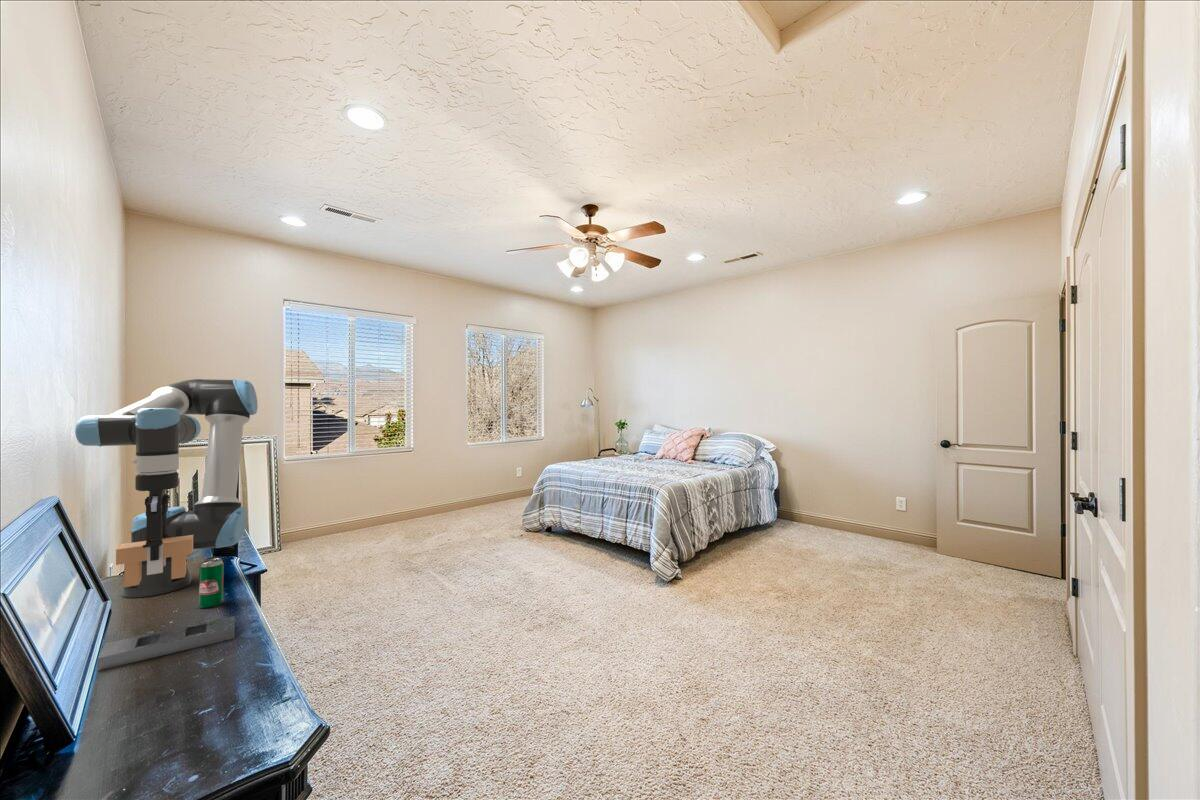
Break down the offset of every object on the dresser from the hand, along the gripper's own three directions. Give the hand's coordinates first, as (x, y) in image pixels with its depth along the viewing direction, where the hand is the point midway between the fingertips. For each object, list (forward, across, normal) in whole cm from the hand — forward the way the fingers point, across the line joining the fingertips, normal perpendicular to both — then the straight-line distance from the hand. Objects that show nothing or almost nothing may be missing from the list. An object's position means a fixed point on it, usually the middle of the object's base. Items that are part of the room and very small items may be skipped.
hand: (156, 569), depth 113 cm
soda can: (+15, -12, +10) cm, 22 cm away
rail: (+15, +12, +4) cm, 19 cm away
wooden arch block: (+2, 0, 0) cm, 2 cm away
